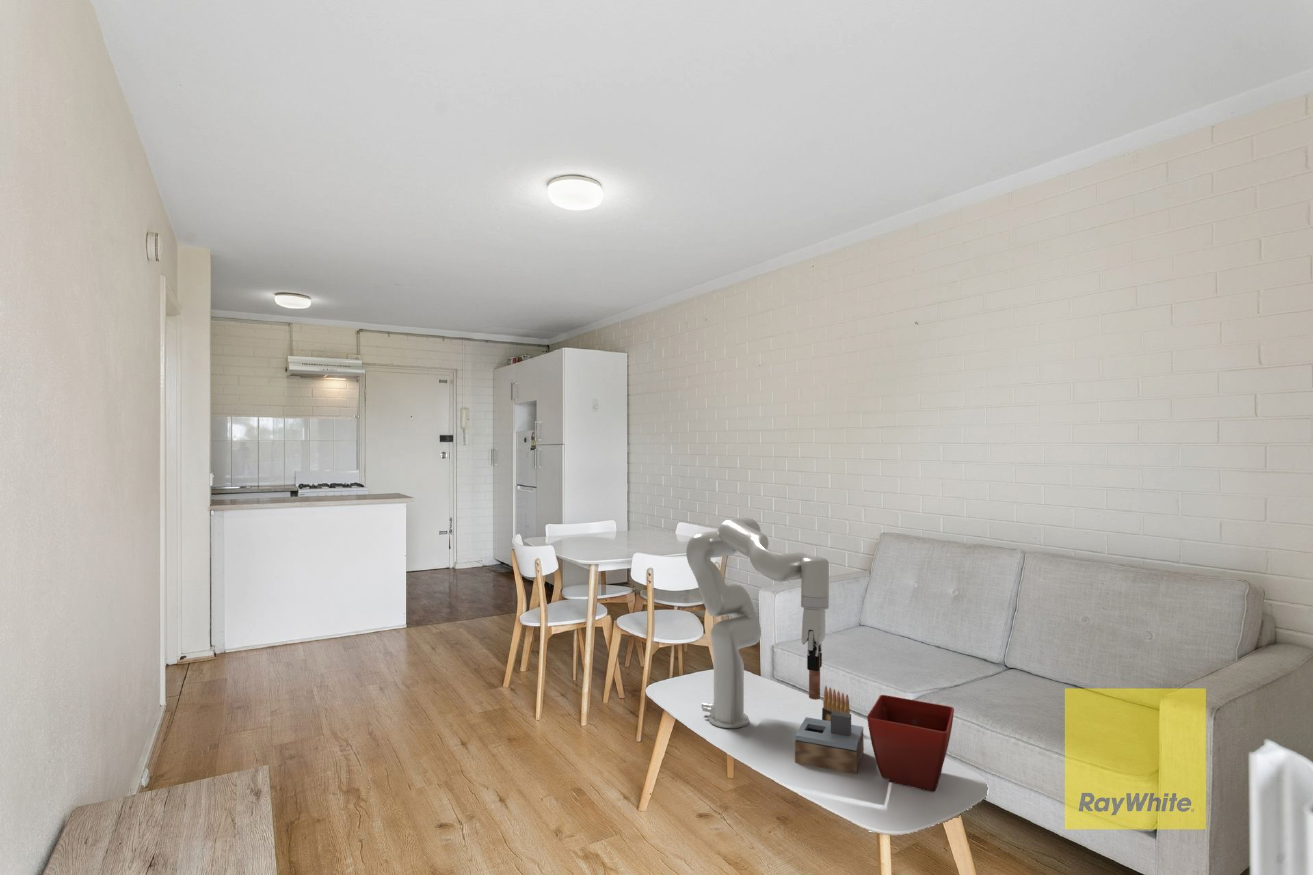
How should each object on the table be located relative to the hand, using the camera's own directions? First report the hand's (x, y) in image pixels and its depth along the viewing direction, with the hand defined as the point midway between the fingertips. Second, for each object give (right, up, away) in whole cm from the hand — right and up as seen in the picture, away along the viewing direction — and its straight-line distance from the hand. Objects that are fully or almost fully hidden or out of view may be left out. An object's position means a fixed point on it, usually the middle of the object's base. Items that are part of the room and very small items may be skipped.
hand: (814, 667), depth 184 cm
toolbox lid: (+4, -18, -2) cm, 18 cm away
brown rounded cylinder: (0, -8, 0) cm, 8 cm away
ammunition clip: (+11, -26, +19) cm, 34 cm away
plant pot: (+23, -25, -11) cm, 35 cm away
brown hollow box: (+4, -25, -3) cm, 25 cm away
